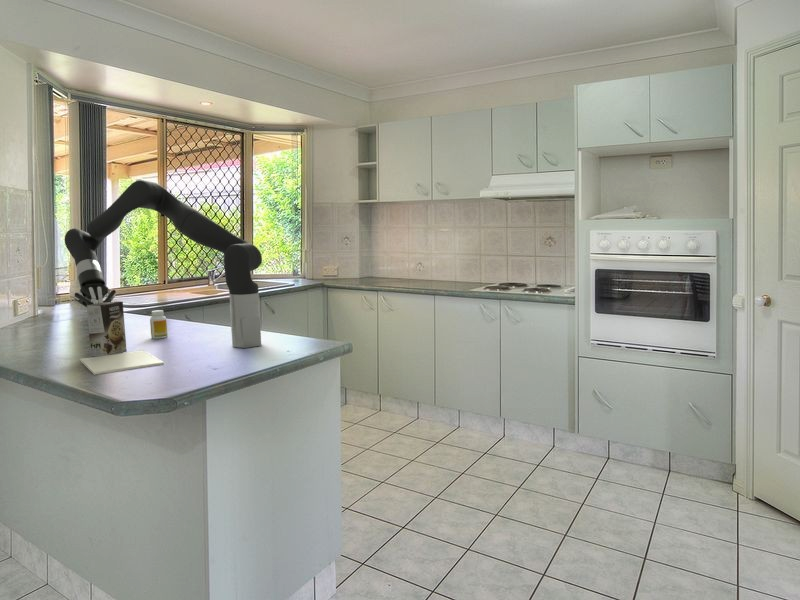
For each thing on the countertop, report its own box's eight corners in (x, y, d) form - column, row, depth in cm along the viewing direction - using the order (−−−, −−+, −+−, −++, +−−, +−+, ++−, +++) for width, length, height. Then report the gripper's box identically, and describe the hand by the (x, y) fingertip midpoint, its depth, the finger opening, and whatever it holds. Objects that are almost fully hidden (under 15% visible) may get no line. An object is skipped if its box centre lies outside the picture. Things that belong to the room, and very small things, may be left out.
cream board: (163, 364, 169) (163, 362, 169) (94, 374, 158) (94, 372, 158) (144, 352, 186) (143, 350, 186) (80, 360, 176) (80, 358, 176)
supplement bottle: (170, 336, 213) (168, 310, 212) (159, 339, 208) (157, 312, 207) (159, 335, 215) (157, 309, 214) (148, 338, 210) (145, 311, 209)
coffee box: (108, 357, 180) (104, 304, 178) (90, 356, 182) (85, 304, 180) (127, 350, 189) (123, 301, 187) (110, 350, 190) (105, 300, 188)
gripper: (68, 269, 193) (78, 310, 185) (112, 267, 201) (123, 306, 193) (67, 284, 198) (77, 325, 190) (110, 281, 206) (121, 320, 198)
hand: (100, 315), depth 191 cm, fingers closed
